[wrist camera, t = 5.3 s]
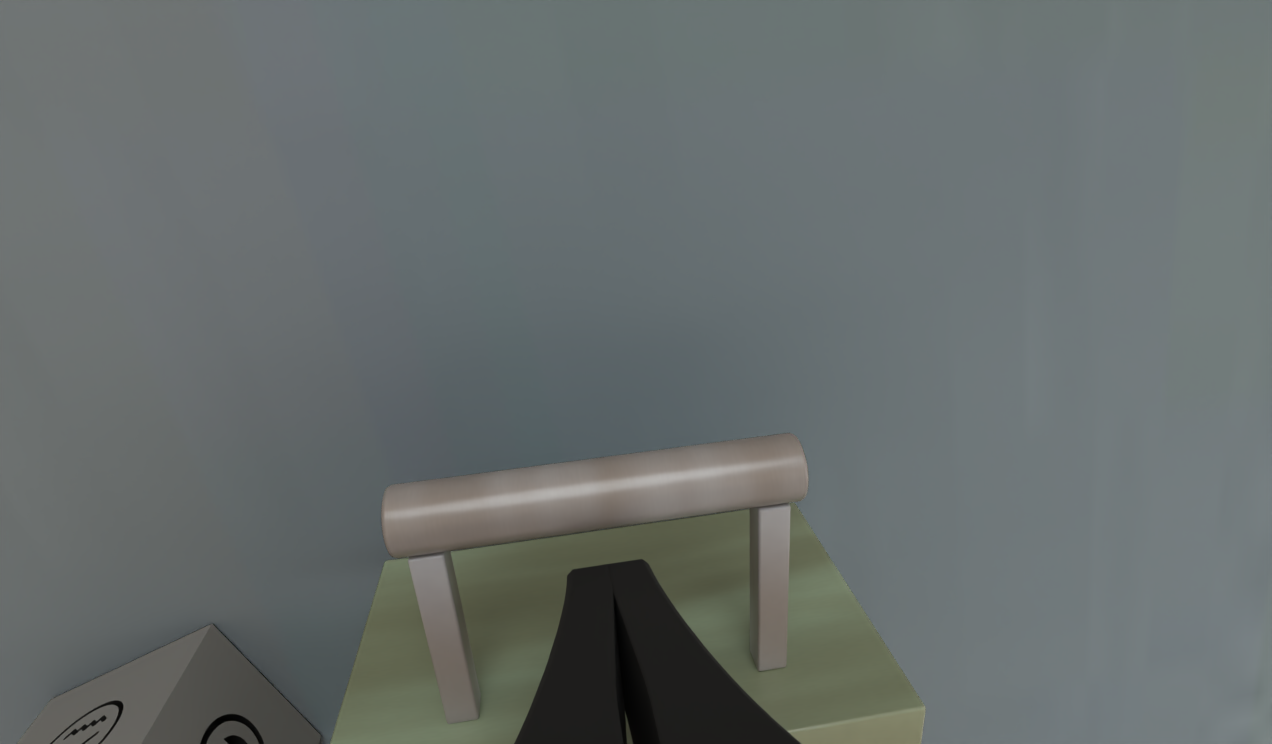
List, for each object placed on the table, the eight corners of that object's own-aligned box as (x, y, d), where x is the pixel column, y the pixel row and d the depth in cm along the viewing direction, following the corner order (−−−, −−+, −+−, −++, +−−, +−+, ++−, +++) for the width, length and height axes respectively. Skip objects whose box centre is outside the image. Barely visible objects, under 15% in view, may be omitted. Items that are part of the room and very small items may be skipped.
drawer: (337, 381, 16) (212, 576, 9) (800, 328, 17) (960, 470, 11) (464, 870, 22) (440, 1169, 16) (786, 808, 24) (878, 1066, 17)
